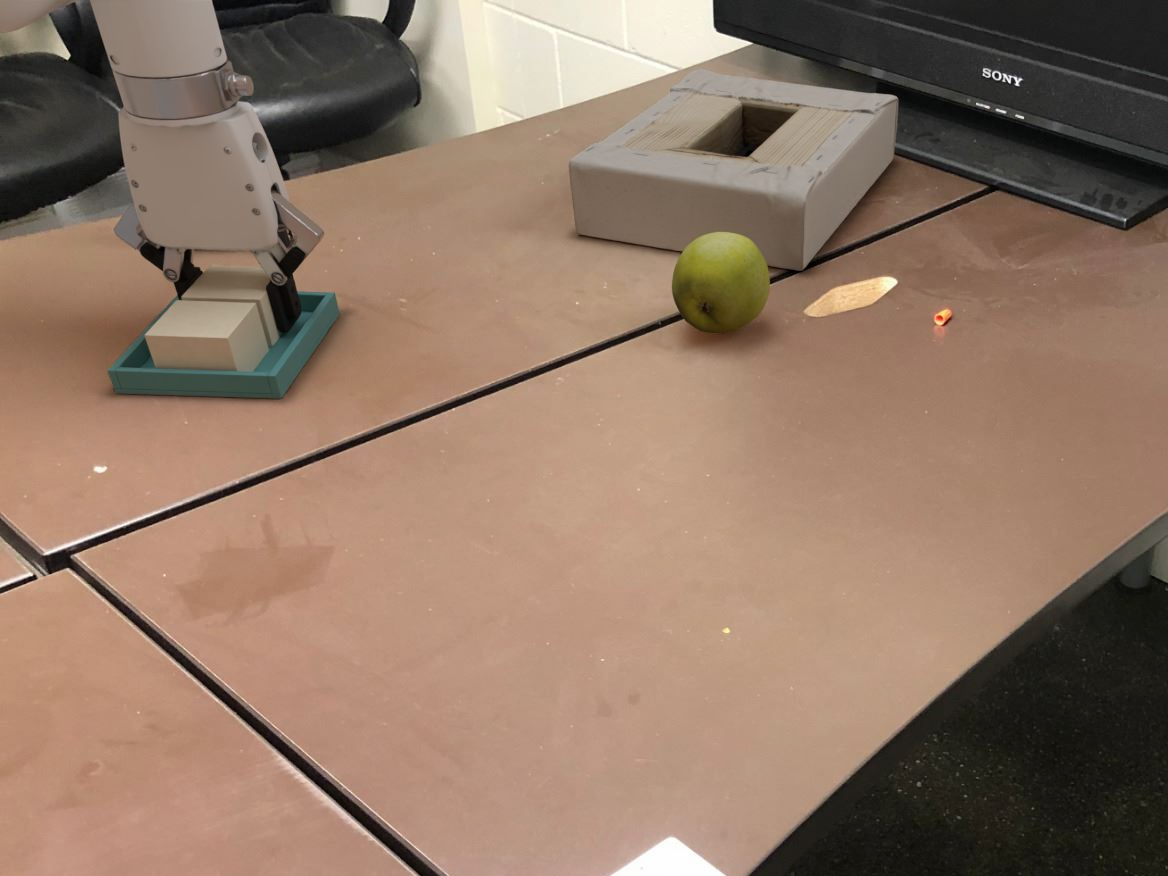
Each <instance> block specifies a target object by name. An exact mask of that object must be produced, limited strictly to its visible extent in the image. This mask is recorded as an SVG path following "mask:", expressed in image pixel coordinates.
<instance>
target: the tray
mask: <svg viewBox="0 0 1168 876" xmlns="http://www.w3.org/2000/svg"><path fill="white" fill-rule="evenodd" d="M297 292H298V296H299V300H300V304H301V315H300V317H299V318H298V320H297V321H296V322H295V324H294V325H293V326H292V328H291V329H290V331H289V332H288V333H283V334H282V335H281V337H280V338H279V339H278V341H277V342H276V343H275V345H274V346H273V347H271V346H268V348H269V351H268V353H267V354H266V355H265V357H264V358H263V359H262V361H261V362H260V363H259V365H258V366H257V367H256V369H255V370H254V371H253V372H247V371H217V370H186V369H156V368H155V365H154V362H153V359H152V356H151V353H150V350H149V347H148V344H147V341H146V339H145V334H146V333H147V332H148V331H149V330H150V328H151V327H152V326H153V325H154V324H155V323H156V322H157V321H158V320H159V319H160V318H161V316H162V315H163V314H164V313H165V312H166V311H167V310H168V309H169V308H170V307H171V306H172V304H173V303H174V302H175V301H176V300H179V298H178V295H175V297H174V298H173V299H172V300H171V301H170V302H169V303H168V304H167V305H166V306H165V307H164V308H163V310H162V311H161V312H160V313H159V314H158V315H157V316H156V317H155V318H154V319H153V320H152V321H151V323H150V324H148V326H147V327H146V328H145V329H144V330H143V331H142V332H141V333H140V334H139V335H138V336H137V338H136V339H135V340H134V341H133V342H132V343H131V344H130V345H129V346H128V347H127V348H126V349H125V351H124V352H123V353H122V354H121V355H120V356H119V357H118V358H117V359H116V360H115V361H114V363H113V364H111V365H110V367H109V368H108V369H107V374H108V377H109V380H110V382H111V385H112V387H113V391H114V393H115V394H121V395H122V394H126V395H150V396H151V395H155V396H182V397H183V396H185V397H187V396H188V397H218V398H247V399H249V398H250V399H276V400H277V399H278V400H279V399H281V400H282V398H283V397H284V396H285V394H286V393H287V392H288V390H289V388H290V387H291V386H292V384H293V382H294V381H295V380H296V379H297V377H298V375H299V374H300V373H301V371H302V370H303V368H304V366H305V365H307V362H308V361H309V359H310V358H311V357H312V355H313V354H314V352H315V351H316V349H317V348H318V347H319V345H320V344H321V342H322V341H323V339H324V338H325V336H326V335H327V333H328V331H330V329H331V328H332V326H333V324H334V323H335V321H336V320H337V319H338V317H339V316H340V315H341V313H340V309H339V308H340V307H339V305H338V300H337V296H336V292H333V291H331V292H330V291H327V292H326V291H323V292H322V291H299V290H297Z"/></svg>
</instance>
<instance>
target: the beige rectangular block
mask: <svg viewBox="0 0 1168 876" xmlns="http://www.w3.org/2000/svg"><path fill="white" fill-rule="evenodd" d="M269 282H270V279H269V277H268V275H267V274H266V273H265V271H264V270H263V268H262V267H261V266H249V265H248V266H246V265H245V266H244V265H214V264H212V265H211V264H210V265H209V266H208V267H207V268H206V269H205V270H204V271H203V274H202V275H201V276H200V277H199V278H198V279H197V280H196V281H195V282H194V283H193V285H192V286H191V287H190V288H189V289H188V290H187V291H186V292H185V293H184V294H183V295H182V296H181V298H182V300H187V301H215V302H244V303H256V305H257V309H258V312H259V316H260V320H261V323H262V327H263V330H264V334H265V337H266V341H267V344H268V346H271V347H273V346H274V345H275V343H276V342H277V341H278V339H279V338H280V337H281V335H282V334H283V333H281V332H280V331H278V329H277V326H276V322H275V318H274V315H273V311H272V308H271V304H270V300H269V297H268V293H267V291H266V286H267V285H268V283H269Z"/></svg>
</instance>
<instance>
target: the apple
mask: <svg viewBox="0 0 1168 876" xmlns="http://www.w3.org/2000/svg"><path fill="white" fill-rule="evenodd" d="M672 273H673V274H672V280H671V293H672V298H673V301H674V304H675V306H676V308H677V310H678V313H679V314H680V316H681V318H682V319H683V320H684V321H685V322H686V323H687V324H688V325H690V326H691V327H693V328H694V329H695V330H697V331H699V332H701V333H704V334H715V335H716V334H720V335H721V334H729V333H733V332H736V331H739V330H741V329H742V328H744V327H746V326H747V325H749V324H750V323H752V322H753V321H755V320H756V319H757V318H758V317H759V316H760V314H761V313H762V311H763V310H764V308H765V307H766V304H767V301H768V299H769V295H770V292H771V291H770V290H771V279H770V272H769V266H767V263H766V261H765V259H764V257H763V255H762V253H761V252H760V250H759V249H758V247H757V246H756V245H755V244H754V243H753V242H752V241H751V240H750V239H749V238H747V237H745V236H742V235H739V234H735V233H729V232H714V233H709V234H706V235H703V236H701V237H699V238H697V239H695V240H694V241H693V242H691V243H690V244H689V245H688V246H687V247H686V248H685V249H684V251H681V254H680V255H679V257H678V259H677V261H676V264H675V266H674V270H673V272H672Z"/></svg>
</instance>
